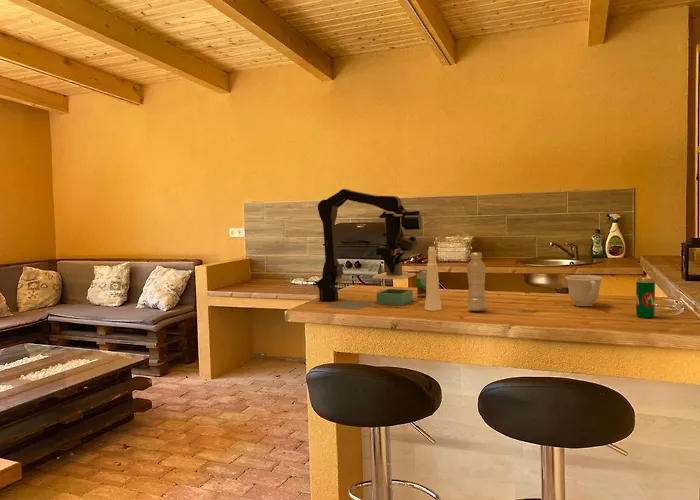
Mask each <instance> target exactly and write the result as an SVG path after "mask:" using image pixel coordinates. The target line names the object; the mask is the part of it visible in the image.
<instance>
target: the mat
mask: <svg viewBox="0 0 700 500" xmlns="http://www.w3.org/2000/svg"><path fill="white" fill-rule="evenodd" d="M375 304H377V301H376V302H375V301H374V302H373V301H361V300H359V301H358V300H342V301H341V300H340V301H339V302H338V301H337V302H336V303H333V304H330V305H327V306H326V308H332V309H333V308H334V309H343V310H357V311H359V310H362V309H365V308H367V307H370V306H372V305H375Z"/></svg>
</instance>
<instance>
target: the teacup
mask: <svg viewBox="0 0 700 500" xmlns="http://www.w3.org/2000/svg"><path fill="white" fill-rule="evenodd" d="M564 278H565V279H566V282H567V287H568V295H569V299H570V300H572V302H574V306H575V305H576V306H575V307H578V306H592V307H594V306H593V304H594V303H595V302H596V301H597V300H598V298H599V294H600V288H601V282H602V281H603V279H604V277H602V276H600V275H593V274H571V275H566V276H565V277H564Z"/></svg>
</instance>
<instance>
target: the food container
mask: <svg viewBox="0 0 700 500" xmlns="http://www.w3.org/2000/svg"><path fill="white" fill-rule="evenodd" d="M426 284H427V269H418V272H417V273H416V293H417V294H416V295H417V296H416V297H417V299H423V298H424V299H426Z"/></svg>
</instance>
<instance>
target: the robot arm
mask: <svg viewBox="0 0 700 500" xmlns="http://www.w3.org/2000/svg"><path fill="white" fill-rule="evenodd" d="M346 201H351V202H357V203H361V204H366V205H372V206H375V207H377V208H379V209H381V210H383V212H382V213H381V214H380V215H379V219H384V228H385V229H384V231H385V233H382V234H383V237H384V238H385V243H384V244H383V245H382V246H377V247H376V248H375V255H374V256H380V257H382V259H383V261H384V263H385V265H386V264H387V266H388V268H389V270H390V272H391V273H394V267H395V263H401V259H402V258H403V257H404V256H405V255H406V254H407V252H409V251H410V252H411V251H414V250H415V248H416V246H418V243H417V242H418V241H417V237H416V236H412V235H411V236H410V237H405V234H404V233H403V232H402V228H404V230H405V231H414V230H415V231H417V230H418V231H421V229H422V225H423V220H422V216H421V211H420V210H414V211H407V210H406V209H405V208H404V206H403V205H402V200H401V199H400V197H398V196H397V195H376V194H370V193H365V192H361V191H360V192H359V191H356V190H350V189H347V188H342V189H340V190H339V191H338V192H337V193H335V194H333V195H331V196H329V197H328V198H326V199H322V200H320V201H319V203H318V204H317V211H318V215H319V218H320V221H321V222H322V229H323V230H322V231H323V242H324V256H325V257H324V259H325V261H324V264H323V267H322V277H321V278H320V279H319V280H318V281H317V282H316V286H317V289H319V290H318V294H319V295H318V296H319V298H318V299H319V302H324V303H326V302H327V303H329V302H331V303H332V302H338V301H339V291H338V283H339V282H340V280H341V279H342V277H343V275H344V271H343V270H344V269H343V268H344V263H340V262H339V261H338V255H337V254H338V253H337V252H338V251H337V250H338V249H337V237H336V234H337V233H336V220H337V217H338V209H339V208H340V207H342V205H344V204H345V203H346ZM387 212H390V213H387ZM401 227H402V228H401ZM403 251H404V252H403ZM405 251H406V252H405Z"/></svg>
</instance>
